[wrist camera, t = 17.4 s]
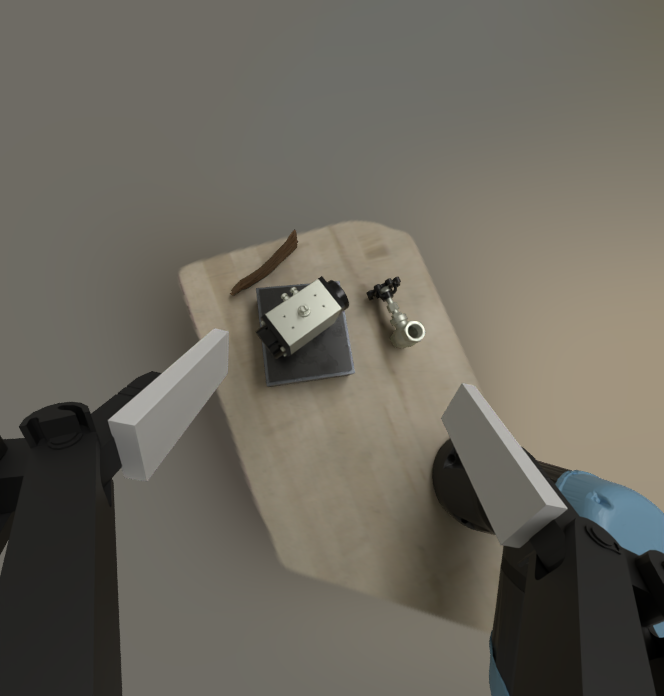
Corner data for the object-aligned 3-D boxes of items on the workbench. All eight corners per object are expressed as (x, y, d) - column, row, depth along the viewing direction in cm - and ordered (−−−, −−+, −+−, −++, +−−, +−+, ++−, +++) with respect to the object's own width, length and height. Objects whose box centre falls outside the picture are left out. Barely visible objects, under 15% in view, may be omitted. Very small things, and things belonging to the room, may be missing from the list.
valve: (418, 342, 47) (391, 288, 49) (437, 334, 41) (405, 271, 42) (389, 356, 46) (361, 299, 47) (403, 350, 40) (371, 284, 41)
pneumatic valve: (339, 324, 41) (356, 295, 29) (281, 367, 38) (273, 355, 26) (319, 297, 41) (327, 259, 29) (259, 339, 38) (243, 315, 27)
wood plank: (291, 242, 48) (291, 225, 43) (299, 249, 48) (299, 233, 43) (231, 295, 44) (222, 283, 39) (239, 303, 44) (232, 291, 39)
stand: (349, 375, 44) (355, 372, 39) (269, 386, 42) (266, 386, 37) (335, 291, 47) (340, 279, 42) (260, 298, 45) (255, 286, 40)
